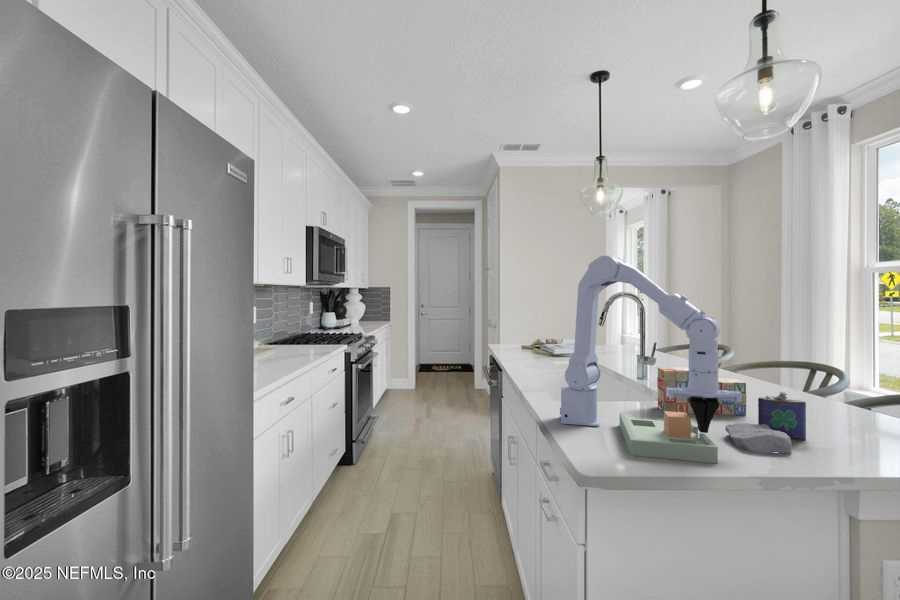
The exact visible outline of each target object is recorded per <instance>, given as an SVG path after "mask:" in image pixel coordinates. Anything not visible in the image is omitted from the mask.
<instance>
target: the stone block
mask: <svg viewBox="0 0 900 600" xmlns="http://www.w3.org/2000/svg"><path fill="white" fill-rule="evenodd" d="M724 427H725V428H724V430H725V431H726V433H727V434H728V435H729V437H731V439H732V441H733V442H734V444H735V445H736V447H739V448H741V449H743V450H745V451H748V452H752V453H759V452H760V453H761V454H773V453H772V452H778V453H777V454H787V453H790V454H791V453H792V447H793V446H792V440H791V439H790V437H789V436H788V435H787V434H786V433H784V432H780V431H775V430H772V429H770V428H769V426H768V425H766V424H763V425H759V424H758V423H750V422H735V423H729V424H727V425H725V426H724Z"/></svg>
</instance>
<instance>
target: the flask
mask: <svg viewBox="0 0 900 600" xmlns="http://www.w3.org/2000/svg"><path fill="white" fill-rule="evenodd" d="M757 402H758V403H757V405H758V406H757V407H758V415H757V417H758V418H757V421H758V423H757V424H759V425H763V424H766V425H768V426H769V428H770V429H772V430H775V431H780V432H784V433H786V434H787V435H788V436H789V437H790V439H791V441H806V439H807V402H806V401H805V400H802V399H788V394H787V393H786V392H783V391H780V392H779V395H778V396H774V395H773V396H768V395H766V396H762V397H761V396H760V397H758V401H757Z"/></svg>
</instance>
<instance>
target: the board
mask: <svg viewBox="0 0 900 600" xmlns="http://www.w3.org/2000/svg"><path fill="white" fill-rule="evenodd" d="M619 427H620V430H622V431H621V433H622V436H623V438H624V441H625V444H626V446H627V448H628V449H627V450H628V451H629V453H630V454H629V455H630V456H633V457H634V456H636V457H645V458H648V457H649V458H658V459H667V460H678V461H687V462H688V461H690V462H699V463H710V464H718V463H719V462H718V455H719V452H718V451H719V450H718V449H719V446H717V445H716V444H715V443H714V442H713V441H712V440H711V439H710V438H709V436H707V435H706V433H702V432H700V433H699V432H698V431H699V430H698V425H697V423H695V422H694V420H692V419H691V439H690V438H678V437H668V436H667V434H666V433H665V431H664V420H660V419H659V420H656V419H655V420H654V419H645V418H642V419H641V418H630V417H626V415H625V413H624V412H620V413H619Z"/></svg>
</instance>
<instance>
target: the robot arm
mask: <svg viewBox="0 0 900 600" xmlns="http://www.w3.org/2000/svg"><path fill="white" fill-rule="evenodd" d="M587 266H588V268H587V270H586V272H584V274H583V276H582V277H581V279H580V281H579V283H578V285H577V300H576V313H575V315H576V316H575V331H574V332H575V333H574V334H575V335H574V349H573V353H572V354H571V356H570V357H569V359H568V360H569V361H568V366H567V368H566V370H565V372H564V378H565V379H564V380H565V382H566V385H568V386H563V387H561V390H560V407H559V415H560V423H561V424H564V425H578V426H588V427H589V426H590V427H591V426H592V427H600V421H599V417H598V386H597V382H598V381H599V379H601V369H600V367H599V364H598V362H599V359H598V356H597V353H596V341H597V327H598V311H599V310H598V309H599V295H600V293H601V292H603V290H605V289H606V288H607V287H609V286H611V285H614V284H617V283H618V282H619V283H624V284H630V285H631V286H632V287H634V288H636V290H638V291H640V293H643V294H644V295H645V296H646V297H648V298H649V299H651V300H652V301H653V302H655V303H656V304H658V310H659V311H658V312H659V313H660V314H661V315H662V316H664V317H665V318H666V319H668V320H669V321H670V322H671V323H673V324H674V325H675V326H677V327H678V328H679V329H680V330H682V331H685V335H686V337H687V338H688V339H689V349H688V367H689V388H667V393H666V396H667V397H668V398H673V397H675V398H688V401H689V403H690V405H691V407H692V409H693V412H694V417H695V420H696V425H697V427H698V431H699V432H700V433H701V434H709V433H708V432H709V428H710V424H711V423H712V419H713V418H714V415H716V414H715V412H716V411H717V409H718V408H719V405H720V403H719V402H718V400H727V401H736V402H742V393H740V392H739V391H727V390H718V378H719V354H720V353H719V350H718V348H719V343H718V339H717V338H718V337H719V335H720V333H721V327H720V325H719V323H718V322H717V321H716V319H715V318H714V317H713V316H708V315H706V314H707V312H706V311H705V310H703V309H698V308H697V307H696V306H695V305H693V304H692V303H691V302H690V301H688V299H689V298H688V297H687V295H684V294H681V295H680V294H678V293H668V292H666V291H665V290H664V289H663V288H662V287H661V286H659V285H658V284H657V283H656V282H654V281H653V280H652V279H651V278H650V277H648V276H647V275H645V273H643V271H641V270H639V269H638V268H636V267H635V266H633V264H630V263H628V262H626V261H625V260H624V259H622V258H620V257H619V258H618V257H613V256H610V255H601V256H598V257H597V258H595V259H594V260H592V261H591V262H590V263H588V265H587Z"/></svg>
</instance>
